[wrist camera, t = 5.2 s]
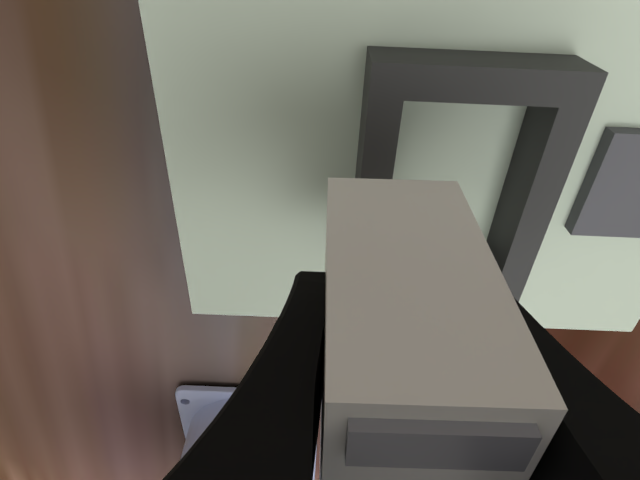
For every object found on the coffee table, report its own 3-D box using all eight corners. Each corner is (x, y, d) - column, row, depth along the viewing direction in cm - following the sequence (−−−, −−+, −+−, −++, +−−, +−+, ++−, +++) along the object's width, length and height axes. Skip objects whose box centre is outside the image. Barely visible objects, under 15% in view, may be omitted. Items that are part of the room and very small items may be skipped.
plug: (424, 332, 13) (480, 582, 8) (322, 328, 13) (317, 577, 8) (457, 181, 10) (575, 424, 5) (328, 177, 10) (324, 416, 5)
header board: (617, 312, 22) (657, 367, 19) (198, 295, 22) (180, 347, 19) (835, -66, 13) (963, -63, 10) (136, -98, 13) (87, -103, 10)
